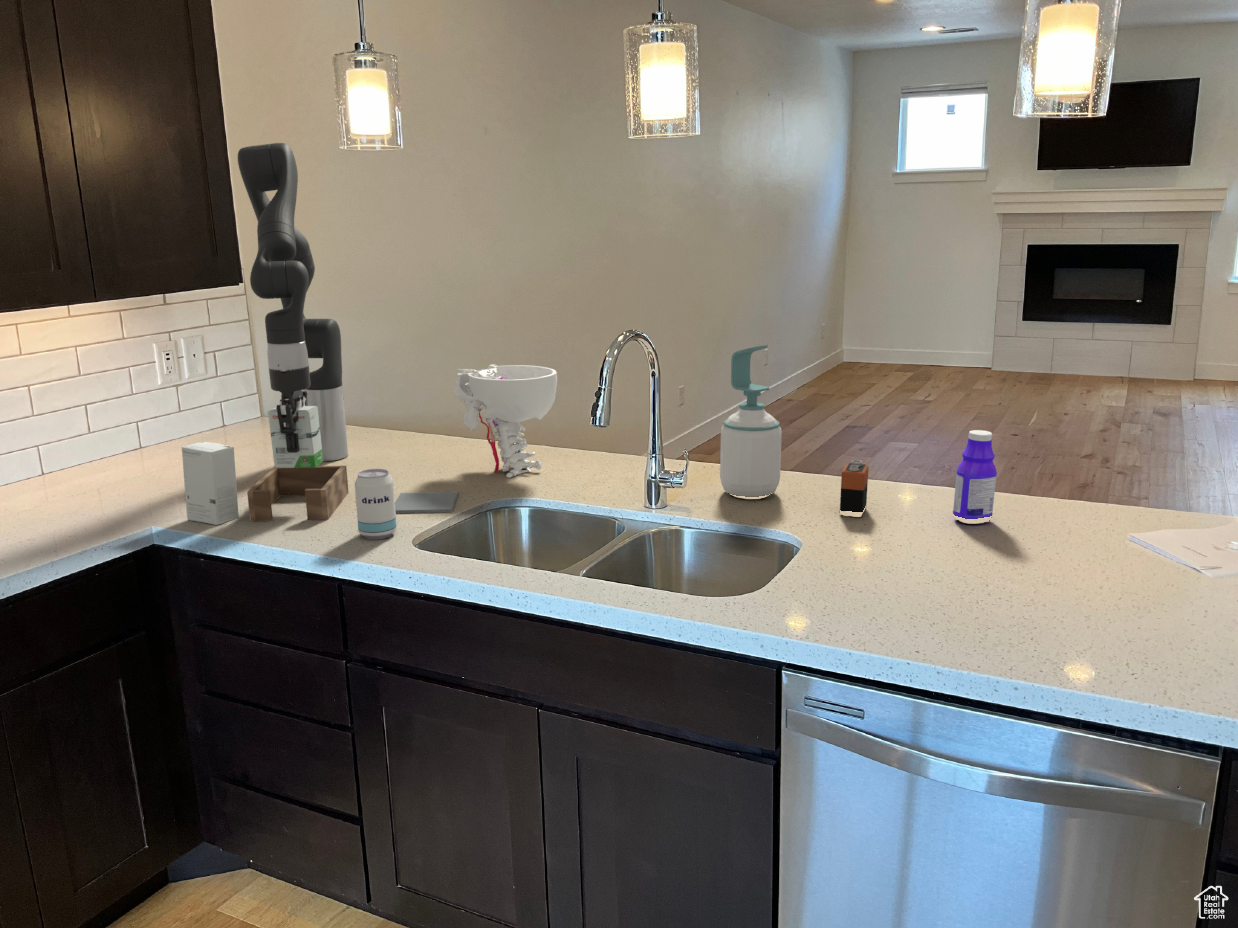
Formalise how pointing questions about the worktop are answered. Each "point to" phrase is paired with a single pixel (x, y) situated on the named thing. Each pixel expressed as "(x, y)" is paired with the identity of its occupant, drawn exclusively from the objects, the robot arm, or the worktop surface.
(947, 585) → the worktop surface
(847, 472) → the battery
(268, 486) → the crate
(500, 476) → the worktop surface
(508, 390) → the skull
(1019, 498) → the worktop surface
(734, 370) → the soap bottle
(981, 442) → the bottle
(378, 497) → the beverage can
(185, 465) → the skincare box
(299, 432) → the ink box
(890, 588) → the worktop surface
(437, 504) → the mat
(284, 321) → the robot arm
